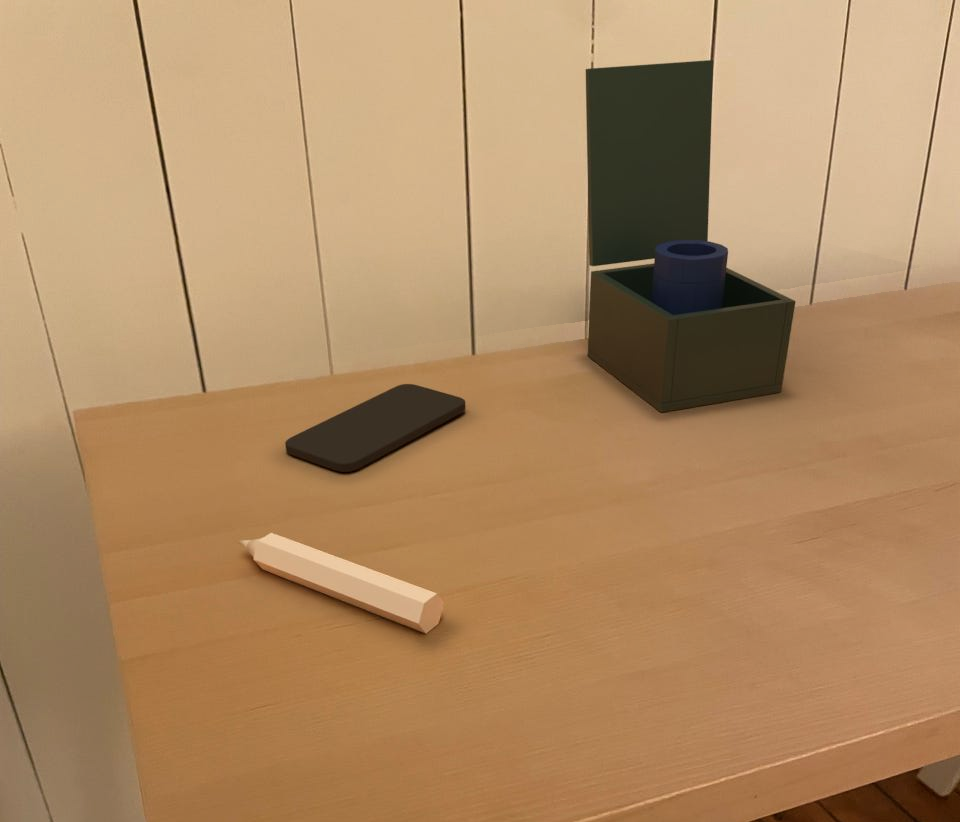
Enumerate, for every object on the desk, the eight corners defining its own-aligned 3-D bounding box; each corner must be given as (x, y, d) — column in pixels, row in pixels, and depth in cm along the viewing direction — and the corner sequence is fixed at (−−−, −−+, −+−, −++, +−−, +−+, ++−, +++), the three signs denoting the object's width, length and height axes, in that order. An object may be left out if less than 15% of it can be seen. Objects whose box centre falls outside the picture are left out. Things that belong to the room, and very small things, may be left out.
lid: (713, 59, 86) (683, 63, 90) (589, 68, 83) (563, 72, 87) (707, 252, 93) (679, 247, 97) (592, 266, 90) (569, 260, 94)
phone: (277, 442, 78) (404, 381, 88) (279, 452, 79) (405, 390, 88) (346, 466, 75) (471, 400, 84) (348, 477, 75) (472, 409, 85)
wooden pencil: (242, 561, 67) (436, 633, 59) (219, 559, 65) (416, 634, 58) (251, 523, 67) (447, 590, 59) (228, 520, 65) (427, 589, 57)
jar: (680, 348, 94) (691, 236, 88) (728, 366, 90) (743, 250, 84) (632, 363, 91) (640, 248, 85) (680, 382, 87) (691, 263, 81)
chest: (781, 392, 87) (795, 301, 82) (661, 413, 84) (669, 319, 79) (696, 339, 98) (704, 256, 94) (587, 356, 95) (590, 271, 90)
